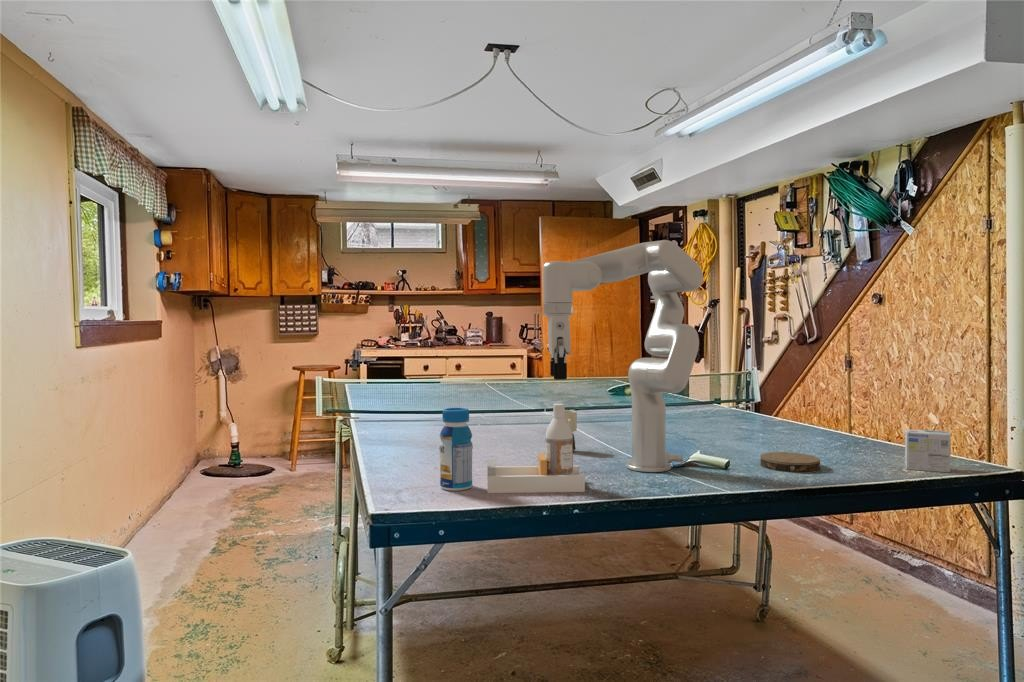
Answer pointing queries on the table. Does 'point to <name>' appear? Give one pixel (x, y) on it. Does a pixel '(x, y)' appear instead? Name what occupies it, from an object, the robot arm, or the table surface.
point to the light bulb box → (927, 450)
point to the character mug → (571, 422)
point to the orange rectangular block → (542, 464)
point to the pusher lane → (531, 480)
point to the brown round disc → (790, 462)
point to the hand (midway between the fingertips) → (558, 377)
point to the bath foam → (559, 444)
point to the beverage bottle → (455, 450)
